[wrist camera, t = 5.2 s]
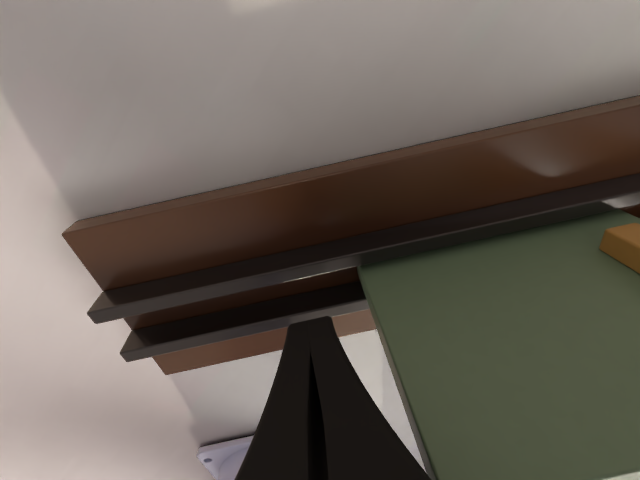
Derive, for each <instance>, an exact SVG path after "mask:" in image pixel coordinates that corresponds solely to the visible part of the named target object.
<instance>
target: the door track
mask: <svg viewBox="0 0 640 480" xmlns="http://www.w3.org/2000/svg"><path fill="white" fill-rule="evenodd" d="M616 209H620V210H622V211H624V212H627V213H629V214H631V215H633V216H635V217H638V218H640V96H636V97H631V98H627V99H622V100H618V101H613V102H609V103H604V104H600V105H595V106H591V107H587V108H582V109H578V110H573V111H569V112H564V113H560V114H555V115H551V116H546V117H542V118H537V119H533V120H528V121H524V122H519V123H515V124H510V125H506V126H501V127H497V128H492V129H488V130H483V131H479V132H474V133H470V134H465V135H461V136H457V137H452V138H448V139H443V140H439V141H434V142H430V143H425V144H421V145H416V146H412V147H407V148H403V149H398V150H394V151H389V152H385V153H380V154H376V155H371V156H367V157H362V158H358V159H353V160H349V161H344V162H340V163H335V164H331V165H327V166H322V167H318V168H313V169H309V170H304V171H300V172H295V173H291V174H286V175H282V176H277V177H273V178H268V179H264V180H259V181H255V182H250V183H246V184H241V185H237V186H232V187H228V188H223V189H219V190H214V191H210V192H205V193H201V194H197V195H192V196H188V197H183V198H179V199H174V200H170V201H165V202H161V203H156V204H152V205H147V206H143V207H138V208H134V209H129V210H125V211H120V212H116V213H111V214H107V215H102V216H98V217H93V218H89V219H84V220H80V221H77V222H75V223H74V224H73V225H72V226H70V227H69V228H68V229H67V230H66V231H64V232H63V233H62V236H63V238H64V239H65V240H66V242H67V243H68V244H69V246H70V247H71V248H72V250H73V251H74V252H75V254H76V255H77V256H78V258H79V259H80V260H81V262H82V263H83V264H84V266H85V267H86V269H87V270H88V271H89V273H90V274H91V275H92V277H93V278H94V279H95V281H96V282H97V283H98V285H99V286H100V287H101V289H102V290H103V291H104V292H102V293H101V295H100V296H99V297H98V299H97V300H96V301H95V303H94V304H93V305H92V307H91V308H90V309H89V311H88V312H87V315H88V316H89V317H90V318H91V319H92V321H93V322H94V323H95V324H98V323H103V322H108V321H112V320H117V319H121V318H124V320H125V321H126V322H127V324H128V325H129V327H130V328H131V329H132V331H131V333H130V335H129V337H128V338H127V340H126V342H125V344H124V346H123V348H122V349H121V351H120V355H121V356H122V357H123V358H124V360H125V361H126V362H130V361H135V360H139V359H144V358H148V357H152V358H153V359H154V360H155V362H156V363H157V364H158V366H159V367H160V368H161V370H162V371H163V372H164V374H165V375H169V374H173V373H178V372H182V371H187V370H191V369H196V368H201V367H205V366H210V365H214V364H219V363H223V362H228V361H233V360H237V359H242V358H246V357H251V356H255V355H260V354H265V353H269V352H274V351H278V350H283V348H284V344H285V339H286V335H287V329H288V327H289V325H290V324H293V323H297V322H302V321H306V320H311V319H315V318H320V317H324V316H329V317H331V318H332V321H333V325H334V328H335V331H336V334H337V336H338V337H342V336H347V335H351V334H356V333H360V332H365V331H370V330H374V329H377V328H376V325H375V322H374V320H373V317H372V314H371V311H370V308H369V305H368V302H367V299H366V297H365V294H364V291H363V288H362V285H361V282H360V279H359V276H358V271H357V266H362V265H366V264H371V263H375V262H380V261H384V260H389V259H393V258H398V257H402V256H407V255H411V254H416V253H420V252H425V251H430V250H434V249H439V248H443V247H448V246H452V245H457V244H461V243H466V242H470V241H475V240H479V239H484V238H489V237H493V236H498V235H502V234H507V233H511V232H516V231H520V230H525V229H529V228H534V227H538V226H543V225H547V224H552V223H557V222H561V221H566V220H570V219H575V218H579V217H584V216H588V215H593V214H597V213H602V212H606V211H611V210H616Z"/></svg>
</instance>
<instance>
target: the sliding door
mask: <svg viewBox="0 0 640 480" xmlns="http://www.w3.org/2000/svg"><path fill="white" fill-rule="evenodd" d="M357 271H358V276H359V279H360V282H361V285H362V288H363V291H364V294H365V297H366V299H367V302H368V305H369V308H370V311H371V314H372V317H373V320H374V322H375V325H376V328H377V331H378V334H379V337H380V340H381V342H382V345H383V348H384V351H385V354H386V357H387V360H388V363H389V365H390V368H391V371H392V374H393V377H394V380H395V383H396V386H397V388H398V391H399V394H400V397H401V400H402V403H403V406H404V408H405V411H406V414H407V417H408V420H409V423H410V426H411V429H412V431H413V434H414V437H415V440H416V443H417V446H418V449H419V452H420V454H421V457H422V460H423V463H424V466H425V469H426V472H427V475H428V476H429V477H430V478H431V480H640V218H638V217H635V216H633V215H631V214H629V213H627V212H624V211H622V210H620V209H616V210H611V211H606V212H602V213H597V214H593V215H588V216H584V217H579V218H575V219H570V220H566V221H561V222H557V223H552V224H547V225H543V226H538V227H534V228H529V229H525V230H520V231H516V232H511V233H507V234H502V235H498V236H493V237H489V238H484V239H479V240H475V241H470V242H466V243H461V244H457V245H452V246H448V247H443V248H439V249H434V250H430V251H425V252H420V253H416V254H411V255H407V256H402V257H398V258H393V259H389V260H384V261H380V262H375V263H371V264H366V265H362V266H357Z"/></svg>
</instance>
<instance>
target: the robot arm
mask: <svg viewBox="0 0 640 480" xmlns="http://www.w3.org/2000/svg"><path fill="white" fill-rule="evenodd" d="M197 458H198V459H199V460H200V462H201V463H202V464H203V465H204V466H205V467H206V469H207V470H208V471H209V472H210V473H211V474H212V476H213V477H214V478H215V479H216V480H431V478H430V477H429V476H428V475H427V473H426V472H425V471H424V470H423V469H422V467H421V466H420V465H419V463H418V462H417V461H416V460H415V458H414V457H413V456H412V454H411V453H410V452H409V450H408V449H407V448H406V446H405V445H404V444H403V442H402V441H401V440H400V438H399V437H398V436H397V434H396V433H395V432H394V430H393V429H392V427H391V426H390V425H389V423H388V422H387V420H386V419H385V417H384V416H383V415H382V413H381V412H380V410H379V409H378V407H377V406H376V404H375V403H374V401H373V399H372V398H371V396H370V395H369V393H368V392H367V390H366V389H365V387H364V385H363V384H362V382H361V380H360V379H359V377H358V375H357V373H356V372H355V370H354V368H353V366H352V365H351V363H350V361H349V359H348V357H347V355H346V353H345V351H344V349H343V347H342V345H341V343H340V341H339V338H338V336H337V334H336V331H335V328H334V325H333V321H332V318H331V317H329V316H324V317H320V318H315V319H311V320H306V321H302V322H297V323H293V324H290V325H289V327H288V329H287V335H286V339H285V344H284V348H283V352H282V356H281V359H280V363H279V366H278V370H277V373H276V376H275V379H274V382H273V385H272V388H271V391H270V394H269V397H268V400H267V403H266V405H265V408H264V411H263V413H262V416H261V419H260V421H259V424H258V427H257V429H256V432H255V434H254V436H249V437H244V438H240V439H235V440H231V441H226V442H221V443H217V444H212V445H208V446H203V447H201V448H199V449H198V451H197Z"/></svg>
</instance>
